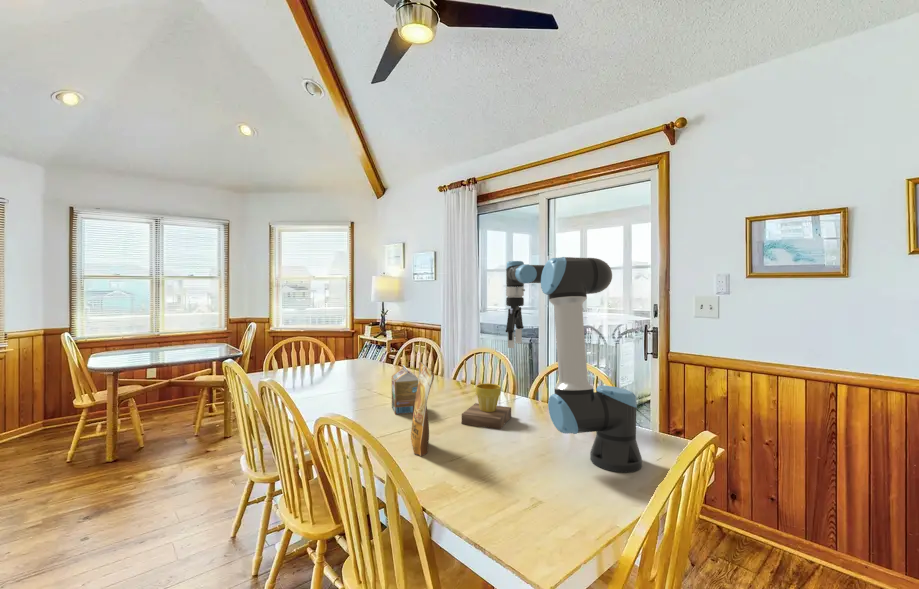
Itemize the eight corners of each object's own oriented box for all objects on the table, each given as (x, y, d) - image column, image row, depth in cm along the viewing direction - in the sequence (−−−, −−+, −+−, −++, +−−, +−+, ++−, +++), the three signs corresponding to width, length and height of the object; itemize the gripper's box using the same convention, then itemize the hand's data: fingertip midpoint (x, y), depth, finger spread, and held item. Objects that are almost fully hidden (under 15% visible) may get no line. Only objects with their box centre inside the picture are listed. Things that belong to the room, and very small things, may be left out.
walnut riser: (500, 429, 162) (500, 418, 161) (461, 423, 168) (461, 413, 167) (511, 416, 176) (511, 407, 176) (475, 412, 182) (475, 403, 182)
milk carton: (391, 407, 190) (391, 365, 189) (414, 405, 193) (414, 364, 192) (395, 414, 180) (395, 370, 179) (419, 412, 183) (419, 368, 182)
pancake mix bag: (427, 436, 154) (427, 360, 153) (434, 457, 135) (434, 370, 135) (409, 437, 153) (409, 360, 152) (413, 459, 134) (413, 371, 133)
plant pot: (500, 406, 178) (501, 383, 177) (500, 413, 167) (500, 389, 167) (476, 405, 179) (476, 382, 179) (474, 413, 169) (474, 388, 168)
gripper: (516, 297, 170) (516, 350, 170) (529, 295, 193) (529, 342, 193) (498, 297, 172) (498, 349, 173) (513, 295, 195) (513, 341, 196)
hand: (514, 345), depth 183 cm, fingers open, 13 cm apart
